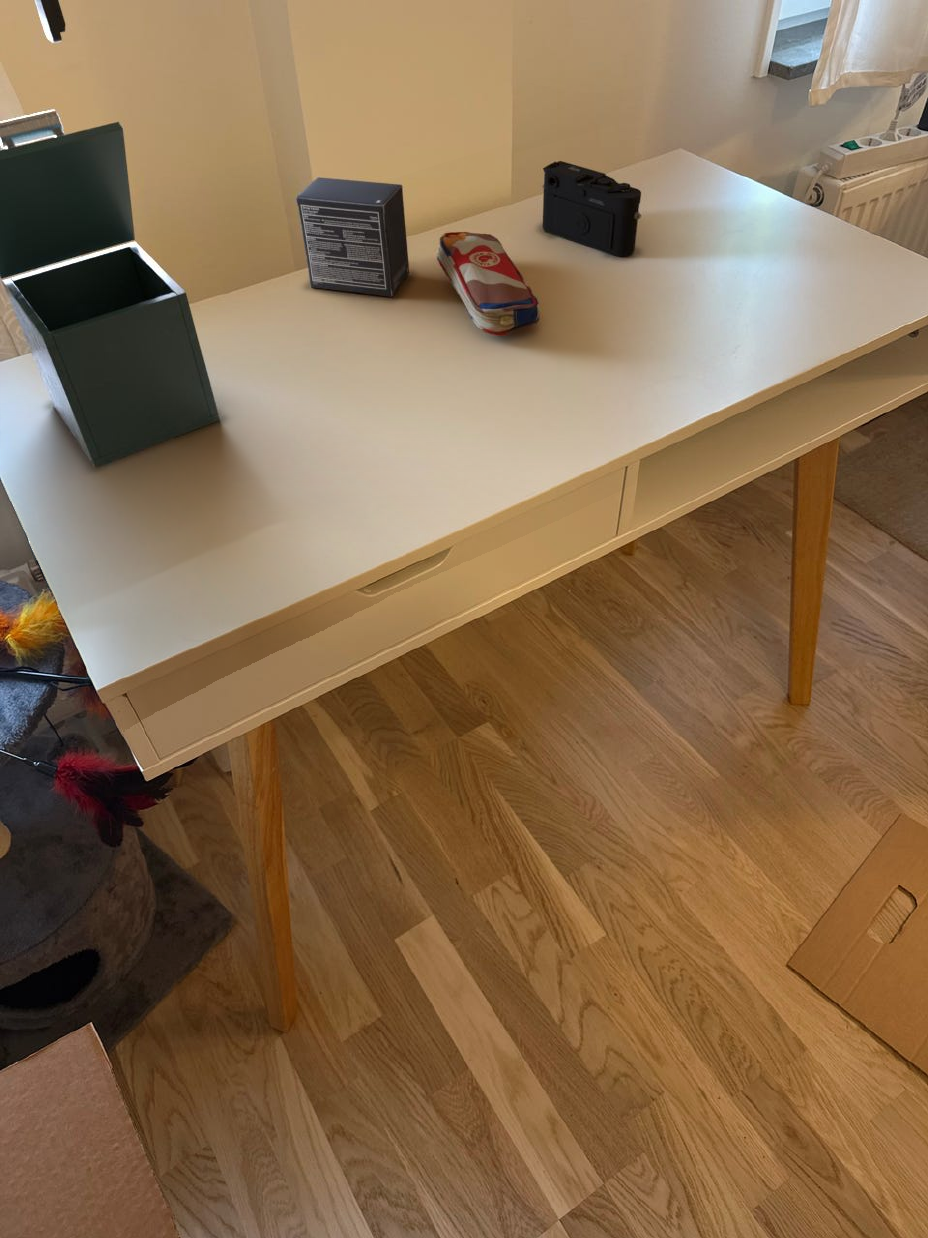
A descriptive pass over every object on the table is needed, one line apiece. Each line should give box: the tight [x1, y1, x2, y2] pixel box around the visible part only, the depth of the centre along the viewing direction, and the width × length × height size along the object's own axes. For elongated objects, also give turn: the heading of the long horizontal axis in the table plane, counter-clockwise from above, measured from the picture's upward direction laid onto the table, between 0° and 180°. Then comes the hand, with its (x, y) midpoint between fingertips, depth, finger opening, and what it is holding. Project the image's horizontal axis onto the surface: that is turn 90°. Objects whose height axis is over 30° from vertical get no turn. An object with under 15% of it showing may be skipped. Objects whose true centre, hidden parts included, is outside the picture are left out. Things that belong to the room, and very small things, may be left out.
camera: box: [541, 160, 642, 258], centre depth 113 cm, size 14×7×8 cm, turn 49°
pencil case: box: [436, 231, 542, 337], centre depth 104 cm, size 11×20×5 cm, turn 1°
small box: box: [295, 176, 410, 297], centre depth 106 cm, size 11×6×10 cm, turn 72°
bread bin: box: [1, 241, 221, 468], centre depth 88 cm, size 13×13×13 cm
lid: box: [0, 109, 136, 280], centre depth 80 cm, size 14×13×5 cm
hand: (0, 51), depth 73 cm, fingers open, 8 cm apart
